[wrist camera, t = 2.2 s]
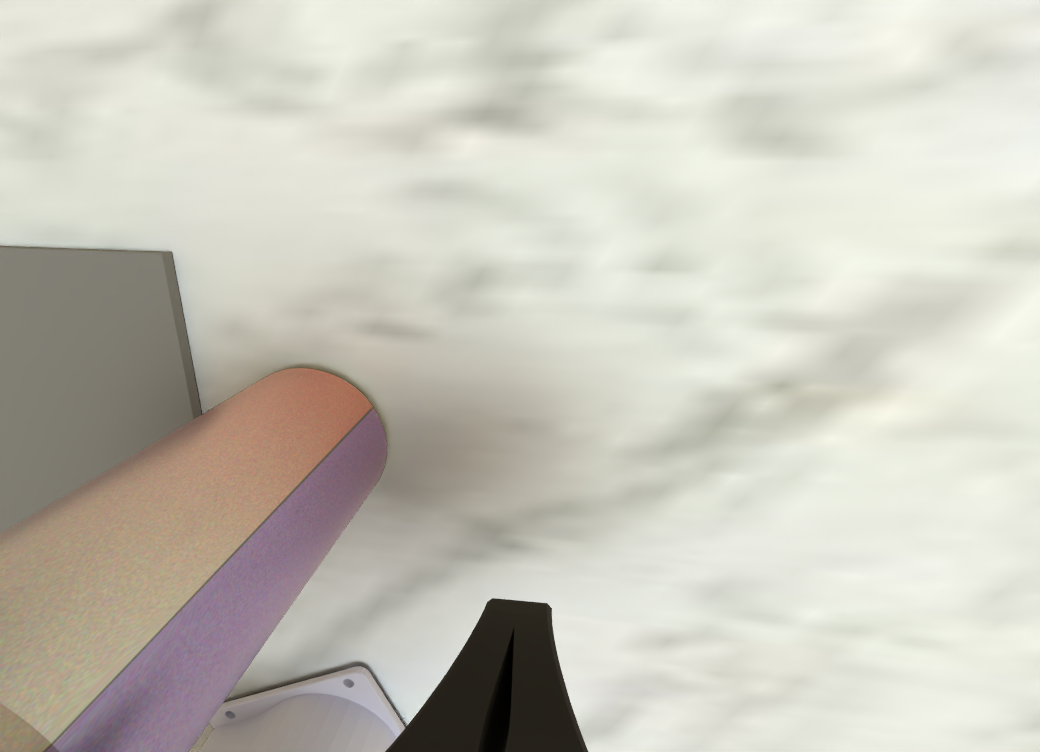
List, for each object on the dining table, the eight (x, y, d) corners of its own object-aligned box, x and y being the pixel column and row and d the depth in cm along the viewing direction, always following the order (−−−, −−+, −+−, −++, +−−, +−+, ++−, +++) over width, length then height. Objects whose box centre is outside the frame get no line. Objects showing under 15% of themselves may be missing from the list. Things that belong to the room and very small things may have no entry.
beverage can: (421, 462, 22) (123, 968, 8) (307, 517, 23) (-120, 1027, 9) (336, 335, 20) (-220, 665, 6) (220, 402, 22) (-441, 792, 8)
